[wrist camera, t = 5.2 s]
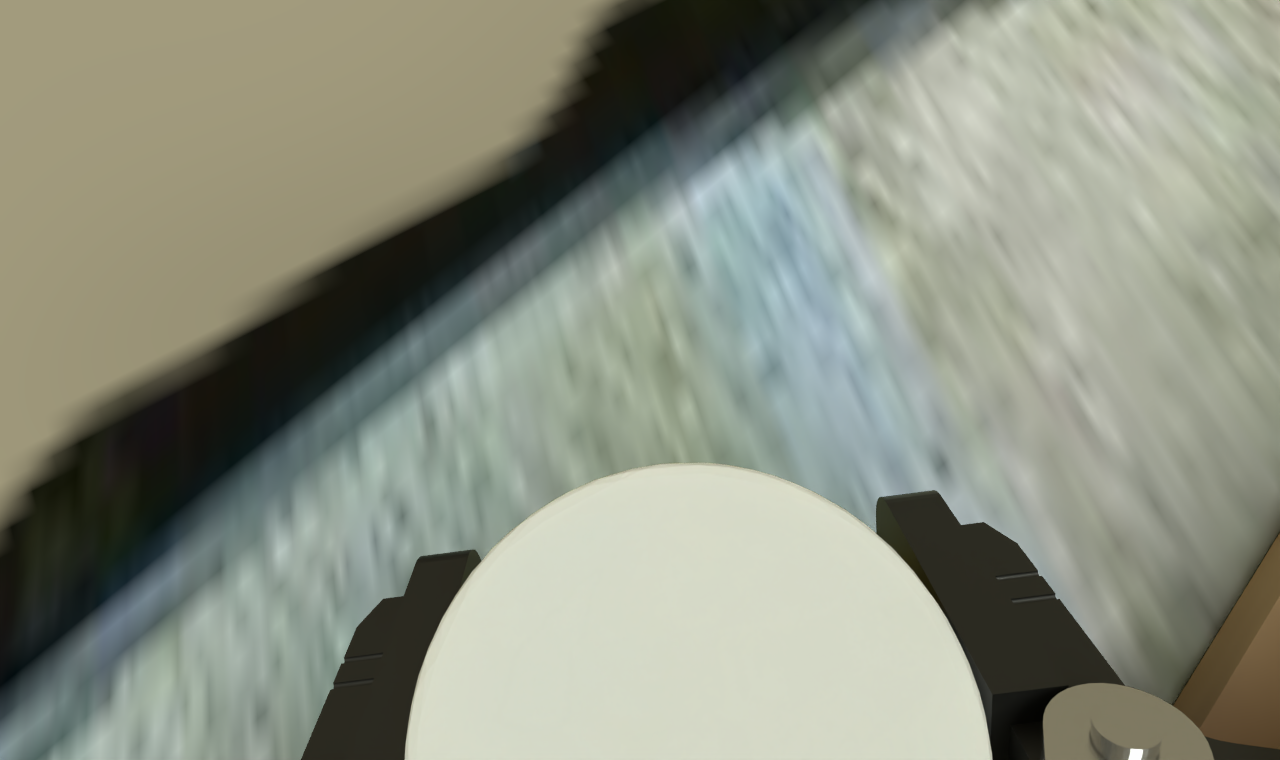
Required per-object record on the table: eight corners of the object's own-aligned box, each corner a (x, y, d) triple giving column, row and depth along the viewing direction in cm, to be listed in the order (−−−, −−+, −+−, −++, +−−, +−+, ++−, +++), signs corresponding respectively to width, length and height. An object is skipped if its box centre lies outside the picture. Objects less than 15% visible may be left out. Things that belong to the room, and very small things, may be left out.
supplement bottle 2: (536, 584, 16) (299, 423, 7) (822, 538, 16) (983, 309, 6) (570, 916, 14) (297, 1349, 5) (897, 866, 14) (1281, 1201, 4)
